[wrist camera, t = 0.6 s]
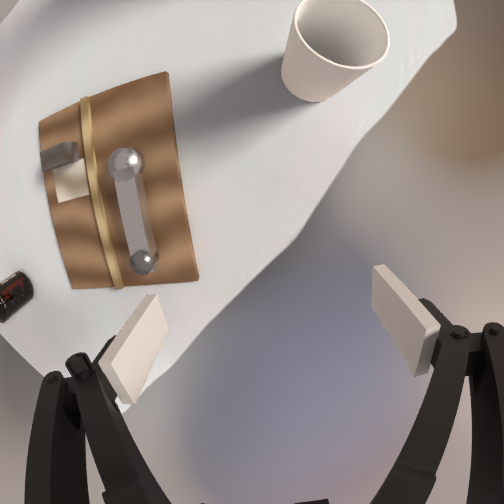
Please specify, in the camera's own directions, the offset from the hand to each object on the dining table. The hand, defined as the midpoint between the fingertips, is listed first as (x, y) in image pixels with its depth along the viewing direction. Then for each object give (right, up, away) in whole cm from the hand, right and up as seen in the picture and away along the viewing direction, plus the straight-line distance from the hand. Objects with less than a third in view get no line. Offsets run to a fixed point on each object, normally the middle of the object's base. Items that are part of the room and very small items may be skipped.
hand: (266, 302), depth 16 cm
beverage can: (-48, -4, +28) cm, 56 cm away
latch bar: (-16, +9, +19) cm, 26 cm away
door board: (-22, +12, +21) cm, 33 cm away
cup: (+7, +26, +15) cm, 31 cm away
